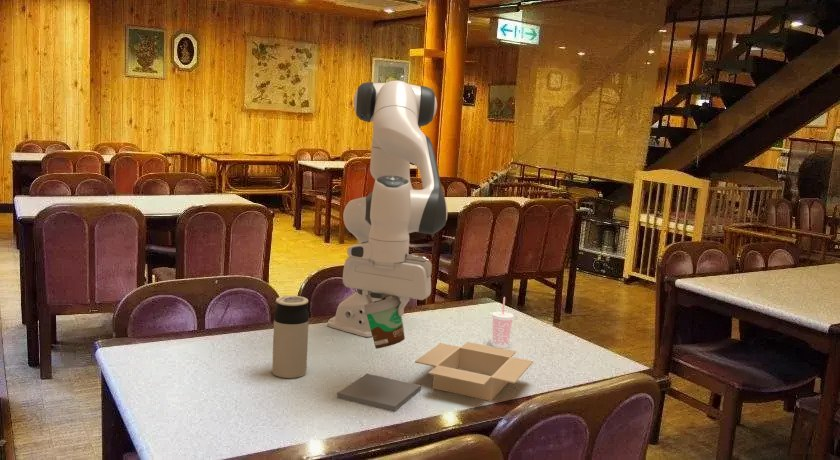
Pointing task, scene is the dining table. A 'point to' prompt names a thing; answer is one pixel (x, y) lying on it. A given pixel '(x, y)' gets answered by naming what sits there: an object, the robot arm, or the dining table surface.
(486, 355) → the carton
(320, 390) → the dining table surface
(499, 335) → the beverage cup
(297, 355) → the travel mug
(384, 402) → the slate board
